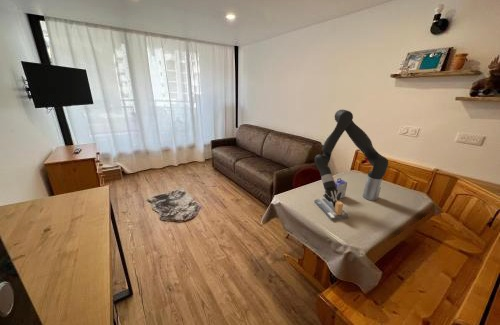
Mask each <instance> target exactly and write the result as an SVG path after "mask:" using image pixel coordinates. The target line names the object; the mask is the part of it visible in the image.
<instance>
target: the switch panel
mask: <svg viewBox="0 0 500 325" xmlns="http://www.w3.org/2000/svg"><path fill="white" fill-rule="evenodd" d="M314 204H315V205H316V206H317V207H318V208H319V209H320V210H321V211H322V213H324V215H326V217H327V218H328V219H329V220H330V221H336V220H337V221H338V220H344V219H348V218H349V215H348V213H347V212H346V211H344V210H343V209H342V213H341V215H337V214H336V213H335V212H334V209H335V208H334V207H333V204H332V202H329V201H328V200H327V199H326V198H321V197H319V198H317V199H314Z"/></svg>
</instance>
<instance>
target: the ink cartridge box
mask: <svg viewBox="0 0 500 325" xmlns="http://www.w3.org/2000/svg"><path fill="white" fill-rule="evenodd" d="M335 184H336V189H337V190H338V192H341V193H342V194H341V197H340V199H342V198H345V197H346V192H347V187H348V181H345V180H343V179H342V177H341V178H340V177H339V178H337V179H336V181H335Z"/></svg>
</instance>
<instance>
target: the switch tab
mask: <svg viewBox="0 0 500 325" xmlns="http://www.w3.org/2000/svg"><path fill="white" fill-rule="evenodd" d="M343 207H344V203H343V202H342V201H341V200H340V201H339V200H338V201H337V202H336V204H335V209H334V212H335V213H336V214H337V215H341V213H342V210H343Z"/></svg>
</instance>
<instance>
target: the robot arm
mask: <svg viewBox="0 0 500 325" xmlns="http://www.w3.org/2000/svg"><path fill="white" fill-rule="evenodd" d="M353 118H354V114H353V113H352V111H350V110H346V109H338V110H337V111H336V112H335V113H334V120H335V122H336V126H335V127H334V129H333V131H332V132H331V134H329V135H328V137H327V138H326V140H325V141H324V143H323V145H322V147H321V151H322V152H323V153H322V154H316V155H315V157H314V164H315V166H316V168H317V169H318V171H319V174H320V177H321V182H322V185H323V189H324V190H325V191H324V194H322V196H323V197H324V199H327V200H328V201H329V202H332V204H333V207H334V208H335V204H336V202H339V200H341V198H340V197H341V194H342V193H341V192H338V190H337V189H336V184H335V182H336V181H335V179H334V177H333V174H332V170H331V167H329V166H327V165H328V164H329V162H330V161H331V157H332V152H333V150H334V148H335V147H336V145H337V143H338V141H339V140H340V138H341V137H342V135H343V134H344V132H346V134H347V135H348V137H349V138H350V139H351V141H352V143H353V144H354V145H355V146H356V148H358V149H359V151H360V152H362V154H364V156H365V157H366V159H367V161H368V163H369V164H370V165H371V166H372V170H370V171H368V173H367V177H366V180H365V183H364V188H363V189H364V190H363V192H362V193H363V194H362V197H363V198H364V199H365V200H367V201H376V200H378V199H379V196H380V192H381V185H382V181H383V177H384V176H385V175H386V174H387V173H386V172H387V170H388V167H389V160H388V159H387V157H385V156H384V155H382V154H380V153H379V152H378V151H377V150H376V148H374V146H373V143H372V140H371V139H370V137H369V135H368V134H367V133H366V132H365V131H364V130H363V129H362V128H360V127H359V126H358V125H357V124H356V123H355V122H354V121H353Z"/></svg>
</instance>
